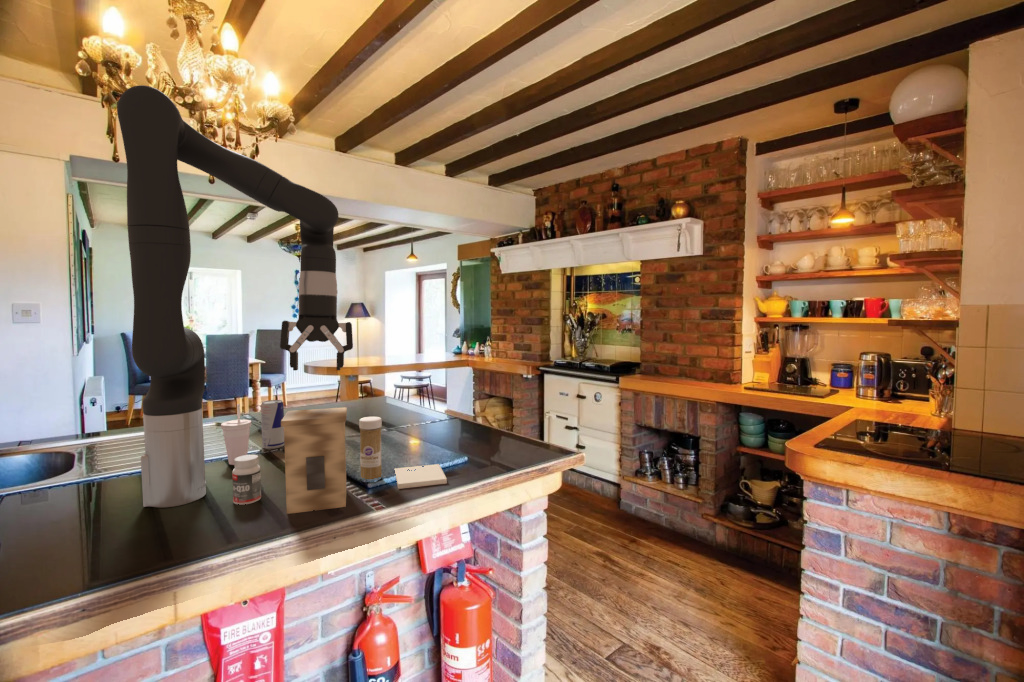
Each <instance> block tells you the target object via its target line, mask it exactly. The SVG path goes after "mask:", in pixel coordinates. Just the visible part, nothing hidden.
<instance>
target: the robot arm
mask: <svg viewBox="0 0 1024 682" xmlns="http://www.w3.org/2000/svg"><path fill="white" fill-rule="evenodd" d="M116 111H117V112H116V113H117V118H118V123H119V127H120V133H121V137H122V143H123V149H124V152H125V154H124V155H125V159H126V160H125V161H126V168H127V169H126V170H127V171H126V172H127V173H126V177H127V179H126V180H127V181H126V214H127V215H126V216H127V217H126V218H127V219H126V221H127V222H126V223H127V225H126V226H127V236H128V239H127V240H128V249H129V257H130V270H131V271H130V272H131V273H130V274H131V282H132V293H133V321H132V322H133V323H132V336H131V338H132V339H131V353H132V359H133V361H134V363H135V365H136V367H137V368H138V369H139V370H140V371H141V373H143V374H144V375H146V376H148V377H150V385H149V387H148V390H147V392H146V395H145V396H144V398H143V400H142V416H143V434H144V435H143V436H144V437H143V438H144V453H143V454H142V455H141V457H140V471H141V473H140V474H141V488H142V490H141V491H142V506H143V507H144V508H146V507H152V508H170V507H171V508H172V507H178V506H182V505H187V504H190V503H193V502H196V501H199V500H200V499H201V498H203V497H205V495H206V494H207V491H206V490H207V489H206V485H207V483H206V466H205V462H206V461H205V444H204V443H205V442H204V441H205V440H204V422H203V420H204V419H203V396H204V394H205V386H206V367H205V365H206V362H205V361H206V360H205V356H206V355H205V348H204V345H203V342H202V339H201V338H200V336H199V335H198V334H197V333H196V332H195V331H193V330H192V329H190V328H188V327H185V326H184V318H183V309H182V306H183V305H182V303H183V301H182V300H183V299H182V297H183V292H184V289H185V288H184V287H185V284H186V281H187V278H188V273H189V269H190V263H191V256H192V255H191V254H192V253H191V252H192V246H191V245H192V244H191V233H190V232H191V231H190V230H191V229H190V223H189V216H188V211H187V205H186V201H185V198H184V197H185V196H184V193H183V189H182V185H181V181H180V177H179V169H178V162H182V163H184V164H186V165H189V166H191V167H193V168H196V169H197V170H200V171H202V172H204V173H205V174H208V175H210V176H211V177H213V178H216V179H217V180H219V181H221V182H223V183H224V184H226V185H228V186H229V187H231V188H233V189H235V190H237V191H239V192H240V193H242V194H244V195H246V196H247V197H249V198H251V199H253V200H254V201H256V202H258V203H260V204H262V205H264V206H265V207H267V208H269V209H271V210H274V211H276V212H281V213H285V214H288V215H290V216H291V217H293V218H295V219H296V220H299V232H300V245H301V249H300V250H301V251H300V274H299V282H298V318H297V321H288V320H283V321H281V332H280V340H279V341H280V343H279V348H280V349H281V350H284V351H288V352H289V366H290V367H289V368H292V369H293V371H298V370H299V352H298V350H299V349H300V347H302V345H303V344H305V342H306V341H308V342H310V343H312V342H322V343H323V342H325V343H326V342H328V341H329V342H330V343H331V344H332V345H333V346H334V348H335V349H336V350H337V352H336V371H341V369H342V368H343V367H344V365H345V352H347V351H350V350H351V351H352V350H353V347H354V343H353V341H354V340H353V325H352V323H351V321H350V322H349V321H347V322H339V321H338V318H337V317H338V313H337V312H338V311H337V310H338V305H337V304H338V284H337V283H338V282H337V255H336V250H335V248H334V232H335V231H334V230H335V227H336V225H337V224H338V221H339V211H338V207H337V206H336V205H335V203H334V202H333V201H332V200H330V199H329V198H328V197H327V196H324V194H323V195H322V194H321V193H319V192H317V191H315V190H313V189H310V188H308V187H305V186H304V185H301V184H298V183H296V182H293V181H291V180H290V179H289V178H287V177H286V176H284V175H282V174H281V173H278V172H277V171H275V170H273V168H271V167H268V166H267V165H265V164H263V163H261V162H259V161H257V160H256V159H253V158H251V157H249V156H246V155H244V154H241V153H239V152H236V151H234V150H231V149H229V148H227V147H226V146H225V147H224V146H222V145H221V144H218V143H217V142H215V141H213V140H211V139H209V138H208V137H206V135H204V134H202V133H200V132H199V131H198V130H196V129H195V128H194V127H192V126H191V125H190V124H188V123H187V122H186V121H185V120H184V119H183V118H182V115H181V112H180V111H179V109H178V107H177V105H176V104H175V103H174V102H173V100H172V99H171V98H170V97H169V96H168V95H166V94H165V93H164V92H162V91H161V90H159V89H158V88H155V87H152V86H149V85H142V84H141V85H139V84H138V85H134V86H132V87H128V88H127V89H126V90H124V92H123V93H122V94H121V95H120V97H119V99H118V101H117V106H116ZM295 327H296V328H297V330H298V332H299V333H300V336H299V337H298V338H297V339H296V340H295V342H294V343H293V344H292V345H291V344H289V340H290V332H293V331H294V328H295ZM339 328H341V331H342V332H343V333H345V339H346V340H345V341H346V344H344V345H342V343H341V342H340V341H339V339H338V338H337V337H336V336H335V335H334V334H335V333H336V332H337V331H338V330H339Z"/></svg>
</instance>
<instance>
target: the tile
mask: <svg viewBox="0 0 1024 682" xmlns="http://www.w3.org/2000/svg"><path fill="white" fill-rule="evenodd" d="M422 466H424V467H422ZM408 469H409V470H410V471H409V470H408ZM415 469H416V470H415ZM394 470H395V473H394V475H395V474H396V477H395V481H397V482H396V485H397V489H398V490H400V489H401V490H402V489H410V488H417V487H420V488H421V487H427V486H436V485H445V484H448V482H447V481H448V479H447V477H446V475H445V472H444V471H443V469H442V467H441V465H440V464H439V463H435V464H427V465H426V464H425V465H415V466H407V467H397V468H396V467H395V468H394V469H393V471H394ZM407 470H408V471H407ZM411 470H412V471H411ZM414 470H415V471H414Z"/></svg>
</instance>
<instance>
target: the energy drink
mask: <svg viewBox="0 0 1024 682" xmlns="http://www.w3.org/2000/svg"><path fill="white" fill-rule="evenodd" d="M284 406H285V405H284V402H283V400H282V399H281V400H280V399H271V400H264V401H261V404H260V411H261V413H260V414H261V442H262V445H261V446H262V448H263V449H265V450H273V449H274V450H275V449H280V448H282V447H285V444H284V427H281V420H282V419H283V417H284V416H285V412H284V411H285V410H284V408H285V407H284Z"/></svg>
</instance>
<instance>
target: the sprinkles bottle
mask: <svg viewBox="0 0 1024 682" xmlns="http://www.w3.org/2000/svg"><path fill="white" fill-rule="evenodd" d="M358 420H359V424H358V426H359V430H360V431H359V435H360V438H359V439H360V442H359V445H360V447H359V448H360V451H359V460H360V461H359V464H360V478H361V477H362V478H365V479H374V478H378V477H381V475H382V460H383V459H382V425H383V424H382V421H383V419H382V418H381V417H379V416H364V417H362V418H359V419H358Z"/></svg>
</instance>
